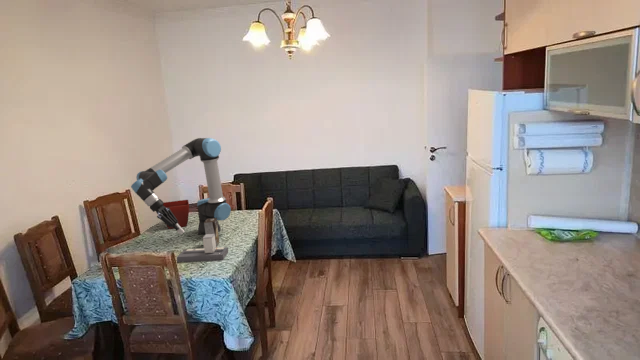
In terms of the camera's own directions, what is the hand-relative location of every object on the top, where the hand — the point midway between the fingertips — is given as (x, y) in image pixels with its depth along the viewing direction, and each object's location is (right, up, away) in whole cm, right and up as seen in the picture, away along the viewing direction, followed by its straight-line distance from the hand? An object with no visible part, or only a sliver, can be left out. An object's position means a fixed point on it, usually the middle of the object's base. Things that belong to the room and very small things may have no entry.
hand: (182, 233), depth 244 cm
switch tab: (+17, -10, -3) cm, 20 cm away
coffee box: (+13, -10, +18) cm, 24 cm away
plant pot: (-25, -3, +67) cm, 71 cm away
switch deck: (+13, -13, -2) cm, 18 cm away
